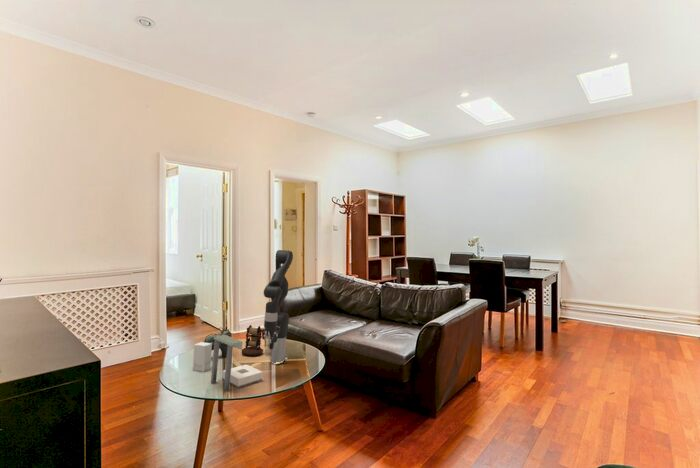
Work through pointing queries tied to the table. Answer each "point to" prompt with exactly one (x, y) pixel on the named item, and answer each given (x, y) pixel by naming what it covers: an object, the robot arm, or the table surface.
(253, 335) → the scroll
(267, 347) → the peg
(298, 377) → the table surface
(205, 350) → the skincare box
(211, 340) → the ceramic cat
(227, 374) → the twin post stand
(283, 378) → the table surface
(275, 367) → the table surface
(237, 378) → the socket block
